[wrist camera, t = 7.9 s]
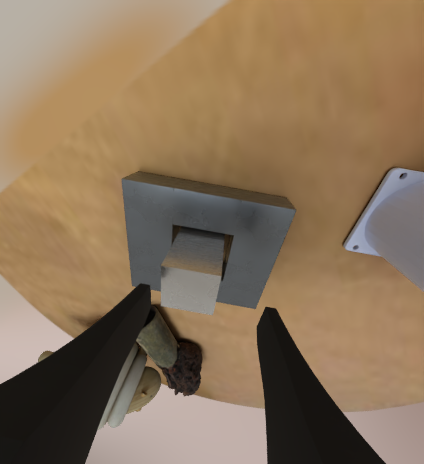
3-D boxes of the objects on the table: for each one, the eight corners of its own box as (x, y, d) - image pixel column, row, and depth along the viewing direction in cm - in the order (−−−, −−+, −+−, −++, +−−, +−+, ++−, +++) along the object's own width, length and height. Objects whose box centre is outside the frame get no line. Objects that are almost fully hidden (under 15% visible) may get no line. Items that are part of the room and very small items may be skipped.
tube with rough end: (133, 305, 27) (112, 343, 22) (173, 298, 26) (160, 337, 21) (180, 367, 35) (172, 406, 30) (213, 364, 33) (211, 405, 28)
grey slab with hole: (286, 197, 17) (296, 210, 14) (252, 288, 23) (255, 308, 20) (138, 171, 17) (121, 178, 14) (143, 268, 23) (132, 286, 20)
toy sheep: (165, 362, 34) (138, 453, 25) (75, 337, 33) (10, 422, 23) (178, 332, 29) (150, 432, 19) (72, 300, 28) (-13, 390, 18)
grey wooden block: (225, 222, 19) (221, 276, 12) (219, 253, 21) (212, 315, 14) (187, 215, 19) (160, 265, 12) (185, 247, 21) (160, 306, 14)
